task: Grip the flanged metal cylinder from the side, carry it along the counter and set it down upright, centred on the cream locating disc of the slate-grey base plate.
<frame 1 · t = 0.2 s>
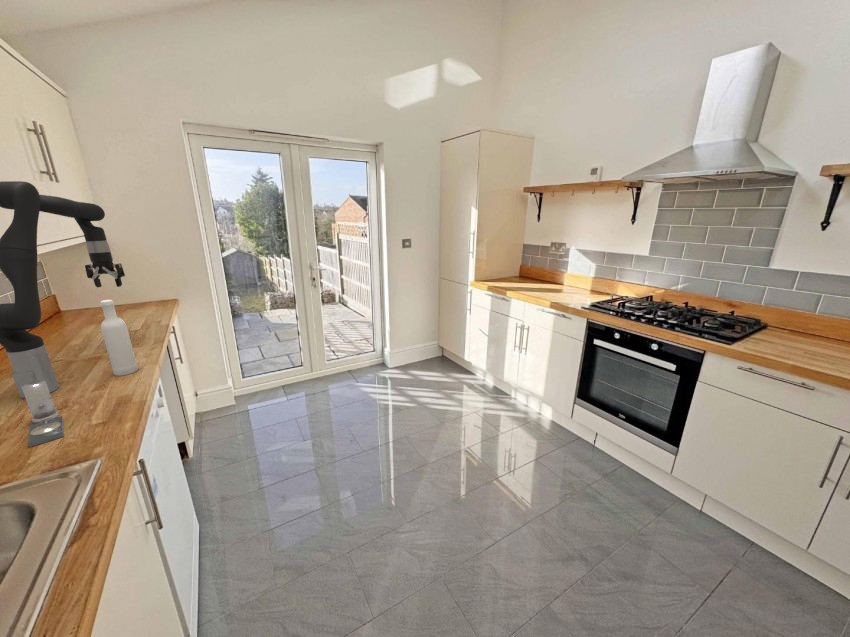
hand: (109, 286, 166), 29 cm above the countertop, tool pointing down, fingers open, 8 cm apart
base plate: (47, 432, 107), on the countertop
flanged metal cylinder: (46, 417, 115), on the countertop
bottle: (126, 372, 147), on the countertop
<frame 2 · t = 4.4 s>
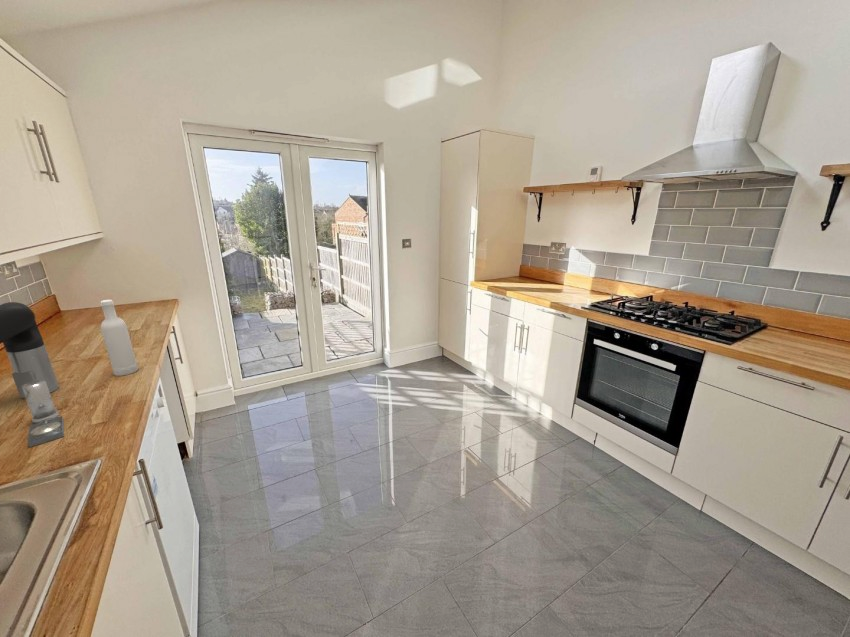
nothing on the countertop moved.
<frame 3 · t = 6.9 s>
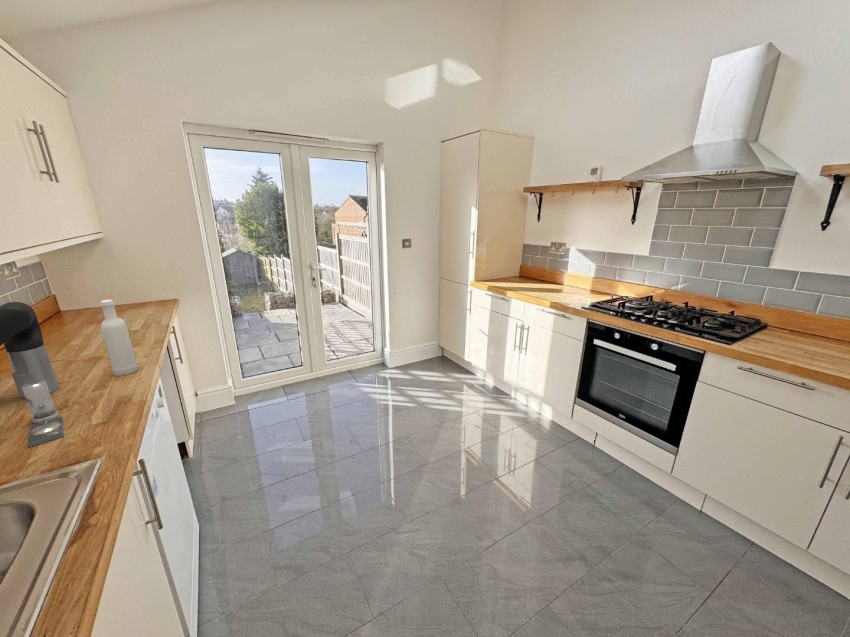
nothing on the countertop moved.
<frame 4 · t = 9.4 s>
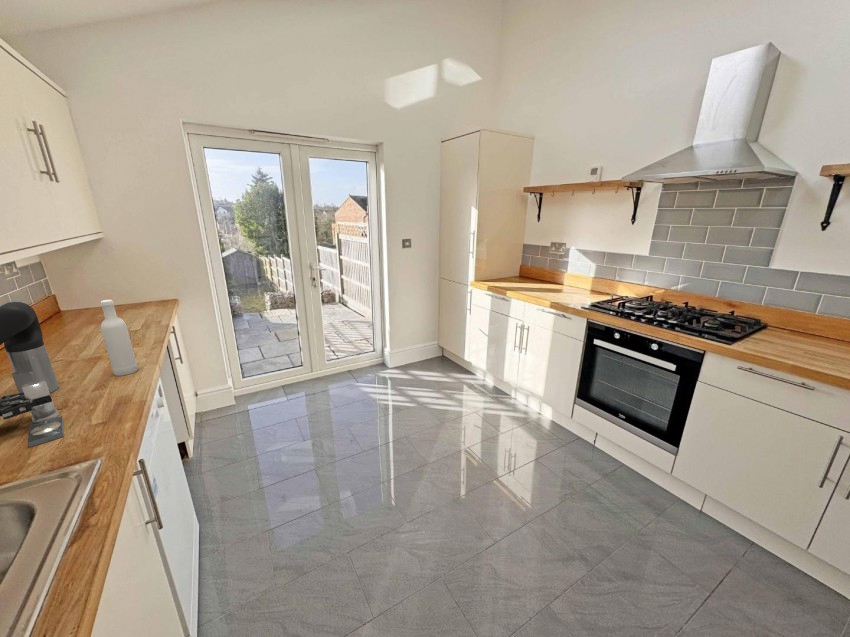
hand: (50, 395, 115), 7 cm above the countertop, tool horizontal, fingers closed on flanged metal cylinder, 5 cm apart
flanged metal cylinder: (46, 417, 115), on the countertop, touching gripper
everything else where it was.
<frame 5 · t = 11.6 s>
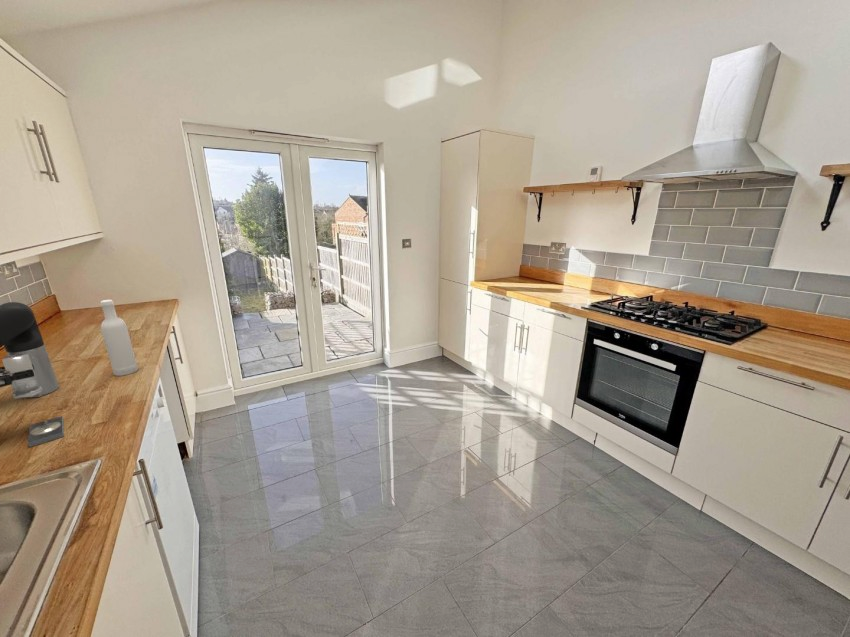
hand: (33, 369, 108), 18 cm above the countertop, tool horizontal, fingers closed on flanged metal cylinder, 5 cm apart
flanged metal cylinder: (28, 393, 108), point 11 cm above the countertop, touching gripper
everything else where it was.
when the fingers open (10 cm above the countertop, at t = 14.0 s): flanged metal cylinder drops 1 cm, resting on base plate.
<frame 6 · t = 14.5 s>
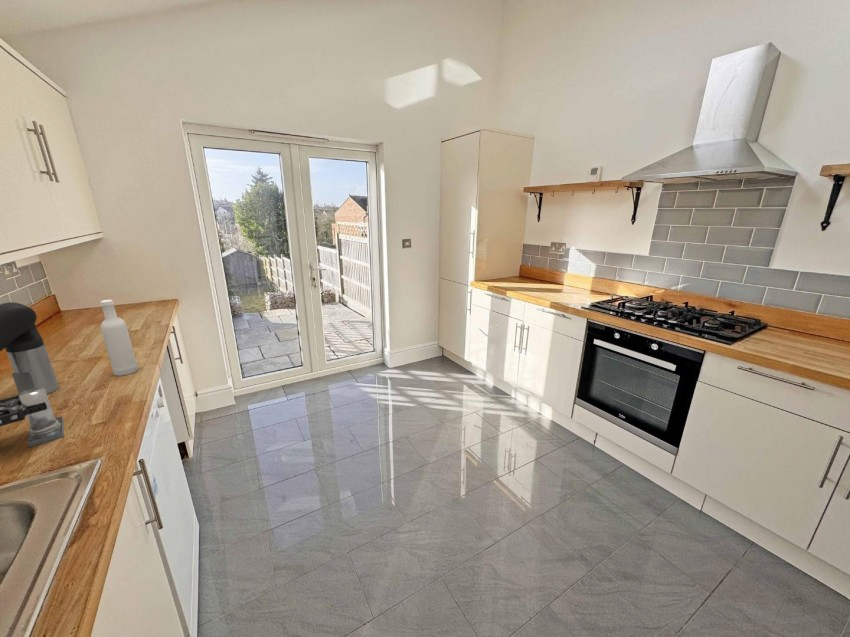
hand: (45, 400, 106), 10 cm above the countertop, tool horizontal, fingers open, 8 cm apart
flanged metal cylinder: (45, 428, 107), point 2 cm above the countertop, touching base plate
everything else where it was.
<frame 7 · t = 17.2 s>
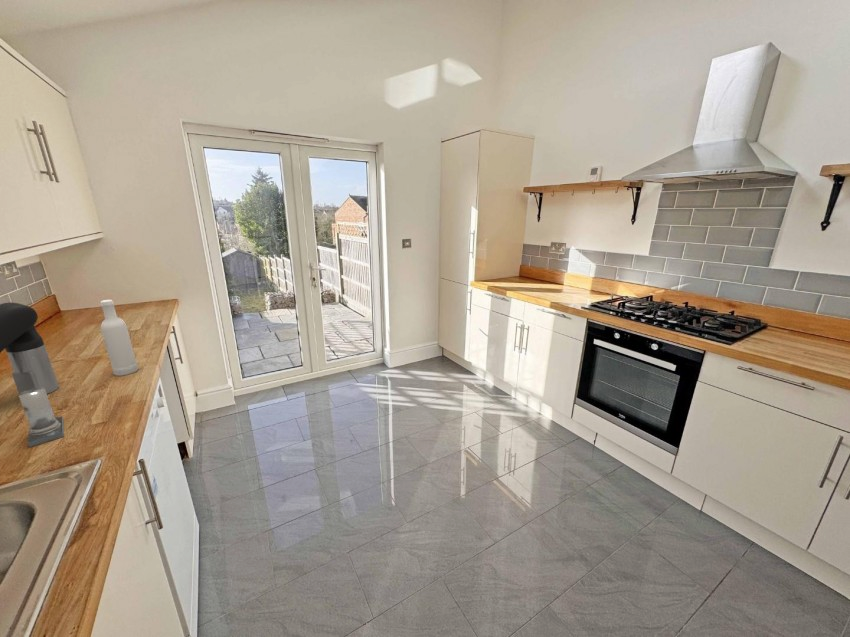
nothing on the countertop moved.
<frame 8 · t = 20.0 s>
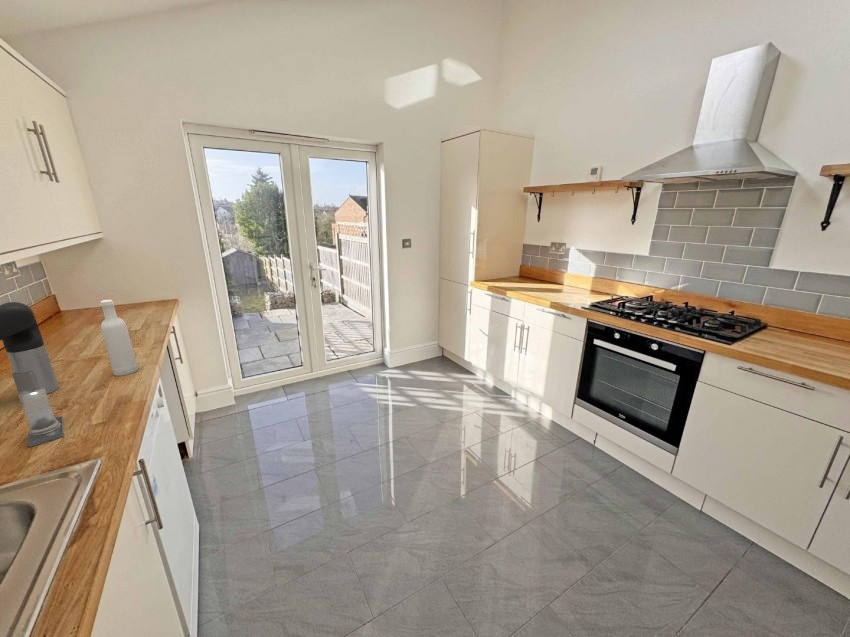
nothing on the countertop moved.
at the end: flanged metal cylinder 0.1 cm off-centre on the base plate, point 1.6 cm above the base plate's base; flanged metal cylinder tilted 0°; the gripper is holding nothing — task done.
